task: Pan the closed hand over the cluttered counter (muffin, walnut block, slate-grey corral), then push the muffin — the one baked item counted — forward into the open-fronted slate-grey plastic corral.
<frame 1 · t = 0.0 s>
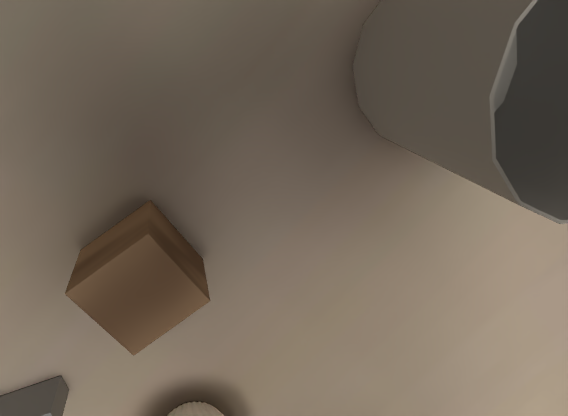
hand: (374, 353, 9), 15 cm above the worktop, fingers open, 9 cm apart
walnut block: (143, 254, 23), on the worktop
cup: (432, 64, 23), on the worktop
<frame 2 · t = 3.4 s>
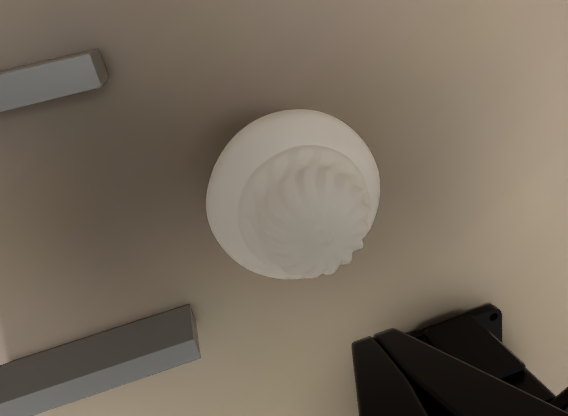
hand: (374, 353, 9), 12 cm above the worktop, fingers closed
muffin: (271, 167, 20), on the worktop
corral: (24, 240, 18), on the worktop
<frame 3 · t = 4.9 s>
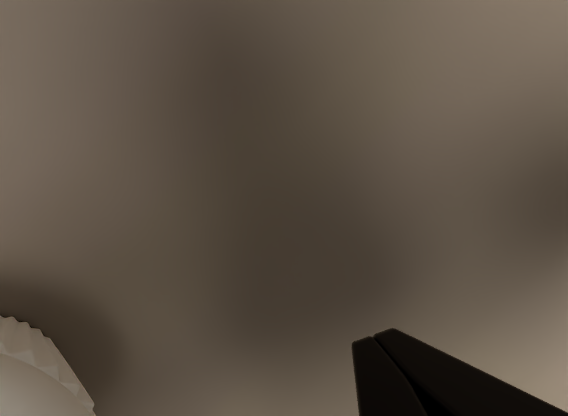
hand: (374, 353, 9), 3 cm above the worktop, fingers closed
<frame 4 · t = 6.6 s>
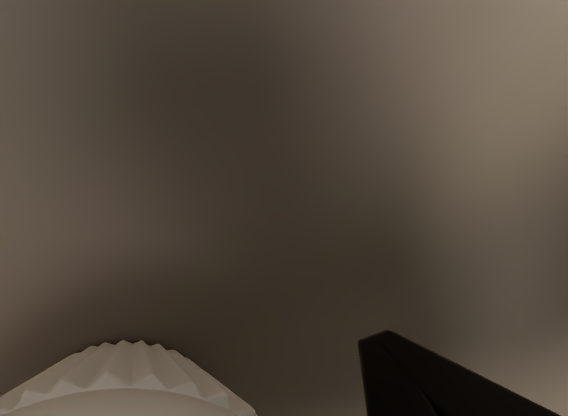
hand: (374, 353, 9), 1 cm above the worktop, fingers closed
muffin: (126, 401, 9), on the worktop, touching gripper
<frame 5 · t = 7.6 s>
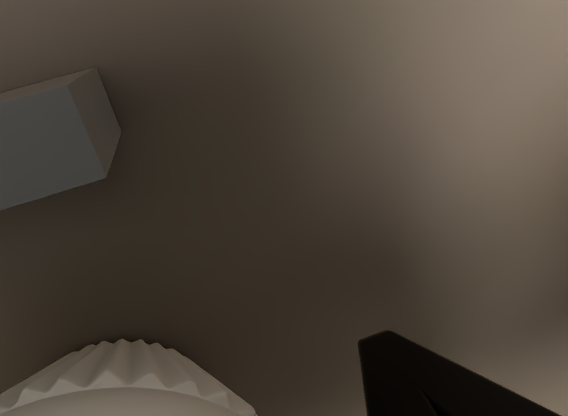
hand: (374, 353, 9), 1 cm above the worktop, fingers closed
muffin: (124, 400, 9), on the worktop, touching gripper
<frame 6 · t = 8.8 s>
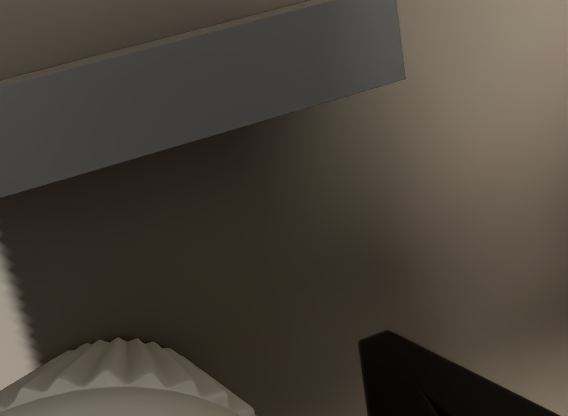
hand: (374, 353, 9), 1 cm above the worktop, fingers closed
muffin: (119, 399, 9), on the worktop, touching gripper
corral: (135, 398, 9), on the worktop
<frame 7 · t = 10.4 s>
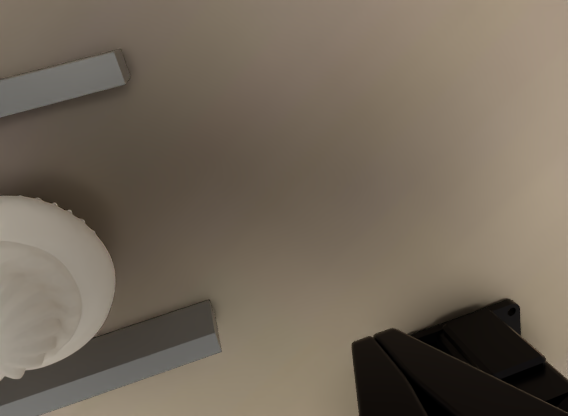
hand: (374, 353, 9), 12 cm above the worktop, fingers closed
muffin: (41, 239, 19), on the worktop
corral: (49, 237, 18), on the worktop
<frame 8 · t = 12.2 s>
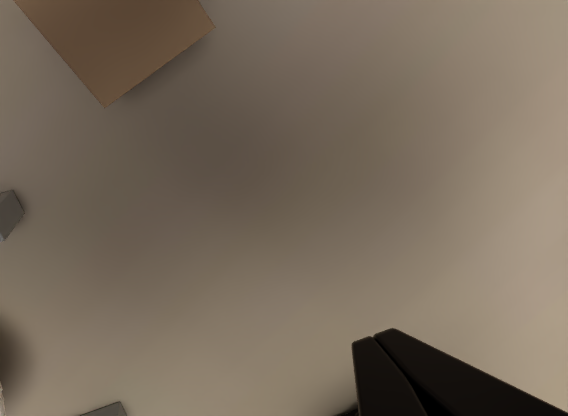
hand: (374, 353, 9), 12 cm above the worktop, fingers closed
walnut block: (123, 9, 16), on the worktop
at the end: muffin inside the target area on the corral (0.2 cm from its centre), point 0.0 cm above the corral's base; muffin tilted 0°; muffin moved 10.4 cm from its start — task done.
